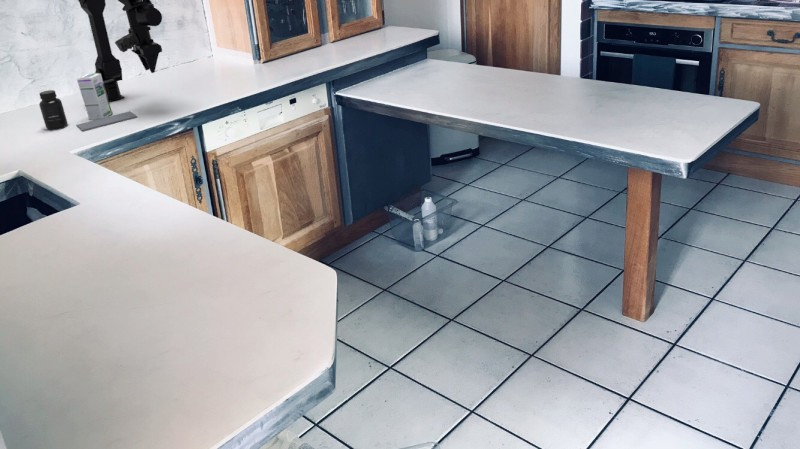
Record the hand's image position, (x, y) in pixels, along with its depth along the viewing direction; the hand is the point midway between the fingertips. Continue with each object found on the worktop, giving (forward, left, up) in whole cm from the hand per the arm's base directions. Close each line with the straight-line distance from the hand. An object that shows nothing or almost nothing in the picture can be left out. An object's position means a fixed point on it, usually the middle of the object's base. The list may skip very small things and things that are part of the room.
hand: (150, 71), depth 247 cm
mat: (0, -18, -13) cm, 22 cm away
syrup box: (-8, -18, -13) cm, 24 cm away
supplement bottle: (-9, -32, -13) cm, 36 cm away
